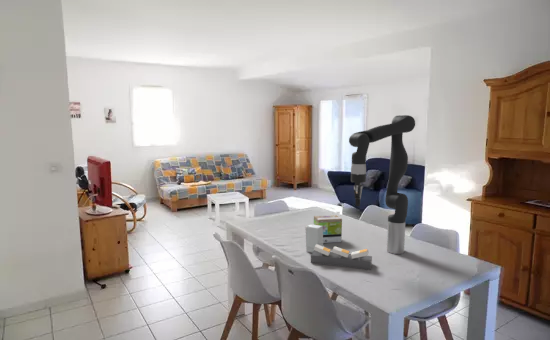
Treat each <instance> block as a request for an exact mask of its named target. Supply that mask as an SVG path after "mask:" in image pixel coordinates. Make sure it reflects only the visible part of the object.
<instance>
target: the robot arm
mask: <svg viewBox="0 0 550 340" xmlns="http://www.w3.org/2000/svg"><path fill="white" fill-rule="evenodd" d="M415 127H416V120H415V118H414V117H413V116H412V115H407V114H404V115H395V116H394V117H393V118H392V120H391V123H388V124H382V125H378V126H375V127H372V128H369V129H367V130H362V131H358V132H357V131H356V132H354V133H352V134H351V135H350V136H349V137H348V143H349V144H350V146H351V147H354V148H357V149H356V151H354V152H352V154H351V168H350V182H351V183H354V185H353V193H354V199H355V207H361V199H362V192H363V183H366V181H367V164H366V163H367V162H366V161H367V153H368V151H369V146H370V143H371V144H372V143H376V142H378V141H380V140H383V139H386V138H388V137H391V143H390V159H389V170H388V173H389V174H388V182H387V186H386V191H385V199H384V200H385V205H386V207H387V208H389V209H393V210H394V213H393V214H389V215H388V216H387V232H386V233H387V238H386V239H387V240H386V251H387V253H390V254H395V255H401V254H404V253H405V242H406V241H405V240H406V238H405V237H406V219H407V218H408V217H407V216H408V208H409V198H408V196H407V194H405V193H402V192H398V187H399V184H400V182H401V180H402V179H403V177H404V176H405V174H406V172H407V170H408V165H409V164H408V163H409V161H408V160H409V156H408V153H407V151H406V148H405V145H404V142H403V134H404V133H409V132H412V131H413V130H414V128H415Z"/></svg>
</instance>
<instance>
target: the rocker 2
mask: <svg viewBox="0 0 550 340" xmlns="http://www.w3.org/2000/svg"><path fill="white" fill-rule="evenodd" d="M331 252H333V253H336V254H339V255H341V256H344V257H348V255H349V254H350V250H347V249H345V248H341V247H339V246H338V247H337V246H336V245H335V246H333V248H332V249H331Z"/></svg>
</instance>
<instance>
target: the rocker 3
mask: <svg viewBox="0 0 550 340" xmlns="http://www.w3.org/2000/svg"><path fill="white" fill-rule="evenodd" d="M350 254H351V257H352V259H353V258H358V257H363V256H369V249H368V248H364V249H360V250H356V251H352V252H351V253H350Z"/></svg>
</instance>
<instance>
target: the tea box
mask: <svg viewBox="0 0 550 340" xmlns="http://www.w3.org/2000/svg"><path fill="white" fill-rule="evenodd" d="M313 225H320V226H323V244H324V243H326V244H328V243H329V244H330V243H342V235H343V233H342V232H343V228H342V227H343V219H342V218H341V217H340V216H339V215H337V214H335V215H331V214H330V215H314V216H313Z"/></svg>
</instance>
